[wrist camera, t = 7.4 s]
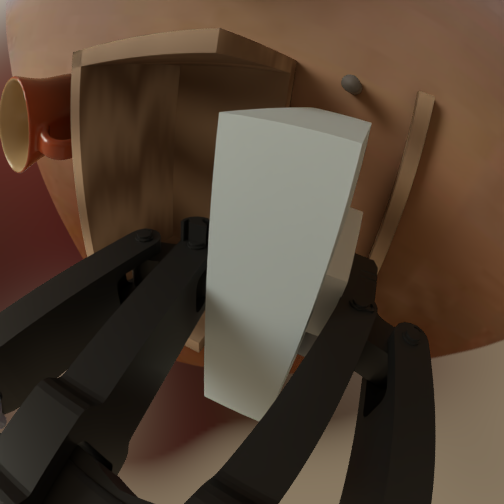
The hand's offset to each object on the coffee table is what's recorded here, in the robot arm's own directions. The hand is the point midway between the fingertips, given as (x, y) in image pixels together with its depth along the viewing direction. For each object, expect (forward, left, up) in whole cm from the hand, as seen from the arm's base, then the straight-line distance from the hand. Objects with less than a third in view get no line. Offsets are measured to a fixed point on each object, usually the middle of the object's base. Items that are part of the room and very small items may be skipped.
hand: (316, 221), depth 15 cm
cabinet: (0, -4, -5) cm, 7 cm away
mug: (-4, -23, -5) cm, 24 cm away
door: (0, 0, 0) cm, 0 cm away
